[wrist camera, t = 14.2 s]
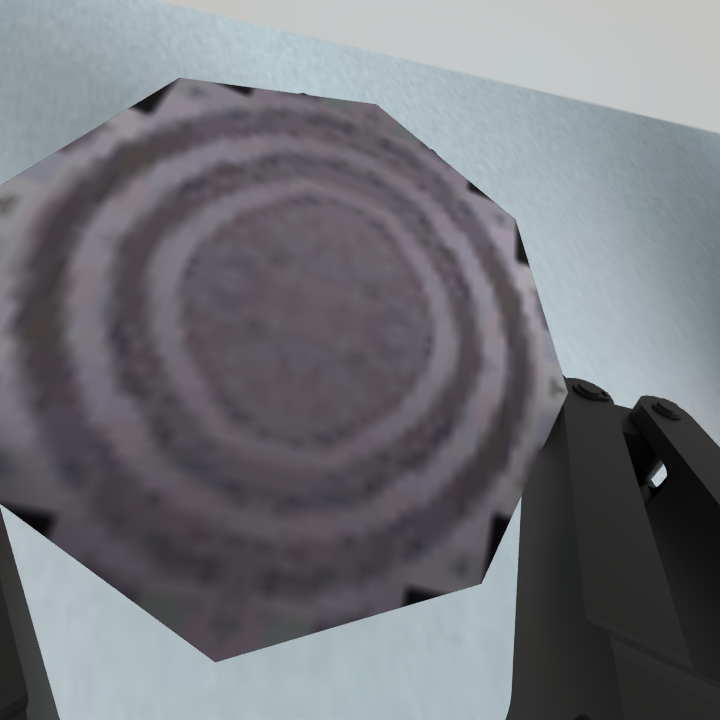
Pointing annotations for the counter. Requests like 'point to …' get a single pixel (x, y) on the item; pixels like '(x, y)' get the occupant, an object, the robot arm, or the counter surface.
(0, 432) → the can
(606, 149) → the counter surface
